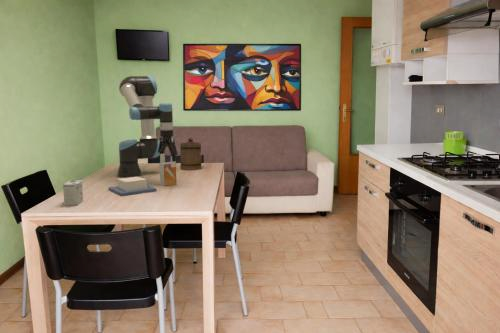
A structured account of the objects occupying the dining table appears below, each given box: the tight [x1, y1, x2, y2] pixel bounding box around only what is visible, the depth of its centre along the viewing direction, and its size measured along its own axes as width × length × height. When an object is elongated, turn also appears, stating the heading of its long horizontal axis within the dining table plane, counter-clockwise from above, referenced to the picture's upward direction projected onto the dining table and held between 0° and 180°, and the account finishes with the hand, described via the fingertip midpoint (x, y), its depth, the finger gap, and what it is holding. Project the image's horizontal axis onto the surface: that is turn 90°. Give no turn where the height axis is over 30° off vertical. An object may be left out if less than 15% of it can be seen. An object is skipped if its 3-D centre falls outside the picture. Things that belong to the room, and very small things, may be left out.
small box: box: [159, 161, 178, 187], centre depth 282 cm, size 8×6×13 cm
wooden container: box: [179, 137, 202, 171], centre depth 339 cm, size 15×15×22 cm
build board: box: [107, 176, 157, 197], centre depth 266 cm, size 20×20×6 cm
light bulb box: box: [62, 179, 84, 207], centre depth 237 cm, size 11×7×11 cm, turn 5°
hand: (168, 165), depth 281 cm, fingers open, 13 cm apart
